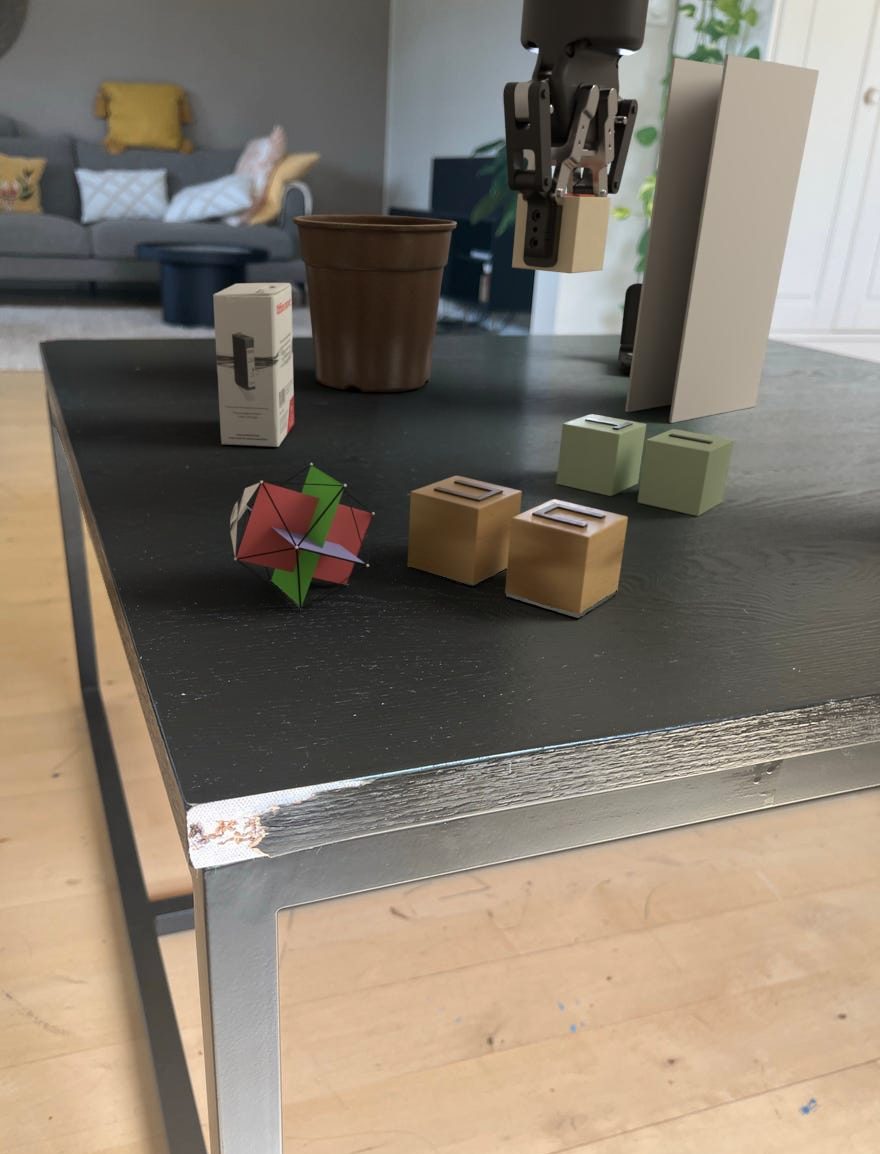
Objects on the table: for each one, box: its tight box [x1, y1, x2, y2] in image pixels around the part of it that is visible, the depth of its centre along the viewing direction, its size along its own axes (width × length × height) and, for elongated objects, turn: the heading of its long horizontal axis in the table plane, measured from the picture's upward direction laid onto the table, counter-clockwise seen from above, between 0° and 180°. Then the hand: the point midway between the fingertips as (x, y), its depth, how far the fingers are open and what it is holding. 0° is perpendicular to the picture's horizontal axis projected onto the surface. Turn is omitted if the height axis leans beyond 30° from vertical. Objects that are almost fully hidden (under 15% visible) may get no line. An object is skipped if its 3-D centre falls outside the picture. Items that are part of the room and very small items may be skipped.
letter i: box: [637, 428, 734, 517], centre depth 69 cm, size 4×4×5 cm
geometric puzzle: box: [229, 462, 376, 609], centre depth 51 cm, size 7×7×8 cm
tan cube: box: [407, 475, 523, 584], centre depth 56 cm, size 4×4×5 cm
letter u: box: [504, 498, 629, 613], centre depth 52 cm, size 4×4×5 cm
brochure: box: [624, 53, 820, 424], centre depth 92 cm, size 14×6×30 cm, turn 130°
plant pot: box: [292, 214, 458, 394], centre depth 102 cm, size 16×16×16 cm
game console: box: [617, 282, 642, 375], centre depth 117 cm, size 16×14×9 cm
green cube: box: [555, 413, 647, 497], centre depth 72 cm, size 4×4×5 cm
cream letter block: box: [511, 192, 612, 274], centre depth 65 cm, size 4×4×5 cm
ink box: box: [212, 282, 295, 448], centre depth 80 cm, size 8×5×12 cm, turn 177°
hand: (558, 263), depth 66 cm, fingers closed on cream letter block, 4 cm apart
